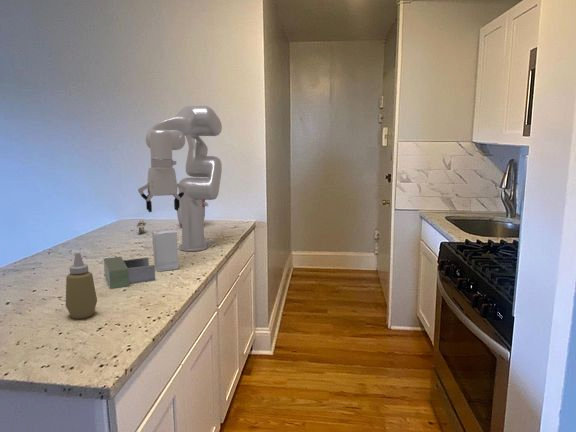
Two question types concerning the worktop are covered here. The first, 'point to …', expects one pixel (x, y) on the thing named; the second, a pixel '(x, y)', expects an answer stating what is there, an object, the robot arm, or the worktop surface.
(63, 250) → the worktop surface
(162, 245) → the skincare box
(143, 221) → the beige brown figurine
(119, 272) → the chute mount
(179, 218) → the citrus juicer
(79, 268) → the squeeze bottle
